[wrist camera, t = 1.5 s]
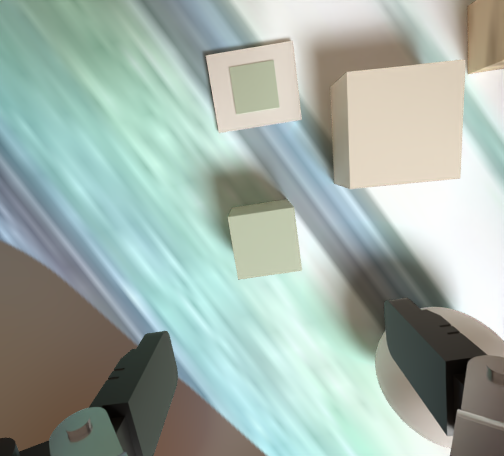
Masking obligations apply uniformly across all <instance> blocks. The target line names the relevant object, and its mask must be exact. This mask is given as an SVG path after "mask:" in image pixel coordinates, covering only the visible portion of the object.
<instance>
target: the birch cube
mask: <svg viewBox="0 0 504 456" xmlns="http://www.w3.org/2000/svg"><path fill="white" fill-rule="evenodd" d="M467 24H468V74H473V73H479V72H485V71H491V70H497V69H503V68H504V0H476V1H475V2H473V3H472V4H470V5H469V6H467Z"/></svg>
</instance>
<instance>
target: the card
mask: <svg viewBox="0 0 504 456" xmlns="http://www.w3.org/2000/svg"><path fill="white" fill-rule="evenodd" d="M206 59H207V65H208V71H209V77H210V83H211V89H212V95H213V101H214V107H215V113H216V119H217V125H218V131H219V133H223V132H229V131H236V130H242V129H248V128H254V127H261V126H267V125H273V124H279V123H286V122H292V121H298V120H302V118H301V109H300V100H299V91H298V82H297V73H296V64H295V56H294V47H293V41H288V42H282V43H276V44H270V45H264V46H258V47H252V48H246V49H240V50H235V51H229V52H223V53H217V54H211V55H206Z"/></svg>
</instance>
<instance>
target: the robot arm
mask: <svg viewBox="0 0 504 456" xmlns="http://www.w3.org/2000/svg"><path fill="white" fill-rule="evenodd" d="M384 314H385V328H386V341H387V346H388V349H389V352H390V354H391V356H392V358H393V360H394V361H395V362H396V364H397V365H398V367H399V368H400V370H401V371H402V372H403V374H404V375H405V377H406V378H407V380H408V381H409V382H410V384H411V385H412V387H413V388H414V390H415V391H416V393H417V394H418V395H419V397H420V398H421V400H422V401H423V403H424V404H425V405H426V407H427V408H428V410H429V411H430V413H431V414H432V415H433V417H434V418H435V420H436V421H437V423H438V424H439V425H440V427H441V428H442V430H443V431H444V433H445V434H446V435H447V436H453V440H452V446H451V452H450V456H504V357H499V356H492V355H487V354H486V353H485V352H484V351H482V350H481V349H480V348H479V347H478V346H476V345H475V344H474V343H473V342H472V341H470V340H469V339H468V338H467V337H466V336H465V335H463V334H462V333H460V332H459V330H457V329H456V328H455V327H454V326H451V324H450V323H449V322H448V321H447V320H445V319H444V318H443V317H442V316H440V315H438V314H436V313H434V312H431V311H429V310H427V309H424V310H421V309H420V308H419V307H417V306H416V305H415V304H414V303H413V302H412V301H411V300H410V299H408V298H401V299H394V300H387V301H385V303H384ZM177 380H178V372H177V366H176V361H175V357H174V353H173V348H172V344H171V340H170V336H169V333H168V332H167V331H162V332H155V333H148V334H145V336H144V337H143V339H142V340H141V342H140V344H139V345H138V347H137V349H132V350H131V351H130V352H128V353H127V354H126V355H125V356H124V357H123V358H121V359H120V361H119V362H118V364H117V365H116V367H115V368H114V371H113V372H112V373H111V375H110V376H109V378H108V380H107V381H106V382H105V384H104V385H103V387H102V388H101V390H100V391H99V393H98V395H97V396H96V397H95V399H94V401H93V402H92V404H91V405H90V407H89V408H86V409H84V410H81V411H78V412H76V413H75V414H73V415H71V416H70V417H68V418H66V419H65V420H64V421H63V422H61V423H60V424H59V425H58V426H57V428H56V429H55V430H54V431H53V433H52V435H51V437H50V439H49V441H46V442H44V443H41V444H38V445H36V446H33V447H31V448H28V449H25V450H23V451H20V452H19V451H18V448H17V446H16V444H15V441H14V440H13V439H11V438H0V456H153V455H154V452H155V449H156V446H157V443H158V440H159V437H160V434H161V431H162V428H163V425H164V422H165V419H166V416H167V413H168V410H169V407H170V404H171V401H172V398H173V395H174V392H175V389H176V386H177Z"/></svg>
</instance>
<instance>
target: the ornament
mask: <svg viewBox="0 0 504 456" xmlns="http://www.w3.org/2000/svg"><path fill="white" fill-rule="evenodd" d="M420 309H421V310H424V309H427V310H429V311H431V312H434V313H436V314H438V315H440V316H442V317H443V318H444V319H445V320H447V321H448V322H449V323H450V324H451V326H454V327H455V328H456V329H457V330H459V332H460V333H462V334H463V335H465V336H466V337H467V338H468V339H469V340H470V341H472V342H473V343H474V344H475V345H476V346H478V347H479V348H480V349H481V350H482V351H484V352H485V353H486V354H487V355H492V356H499V357H504V341H503V340H502V339H501V338H500V337H499V336H498V335H497V334H496V333H495V332H494V331H493V330H491V329H490V328H489V327H487V326H486V325H485V324H483V323H482V322H480V321H478V320H477V319H475V318H473V317H471V316H469V315H467V314H465V313H462V312H459V311H456V310H453V309H449V308H443V307H424V308H420ZM375 369H376V375H377V379H378V382H379V385H380V388H381V390H382V392H383V394H384V396H385V398H386V400H387V401H388V403H389V404H390V406H391V407H392V409H393V410H394V411H395V412H396V414H397V415H398V416H399V417H400V418H401V419H402V420H403V421H404V422H405V423H406V424H407V425H408V426H409V427H410V428H411V429H413V430H414V431H415V432H417V433H418V434H419V435H421V436H422V437H424V438H426V439H428V440H429V441H431V442H433V443H436V444H438V445H441V446H443V447H447V448H451V446H452V440H453V436H447V435H446V434H445V433H444V431H443V430H442V428H441V427H440V425H439V424H438V423H437V421H436V420H435V418H434V417H433V415H432V414H431V413H430V411H429V410H428V408H427V407H426V405H425V404H424V403H423V401H422V400H421V398H420V397H419V395H418V394H417V393H416V391H415V390H414V388H413V387H412V385H411V384H410V382H409V381H408V380H407V378H406V377H405V375H404V374H403V372H402V371H401V370H400V368H399V367H398V365H397V364H396V362H395V361H394V360H393V358H392V356H391V354H390V352H389V349H388V346H387V341H386V330H385V332H384V333H383V335H382V337H381V339H380V341H379V343H378V346H377V350H376V355H375Z"/></svg>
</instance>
